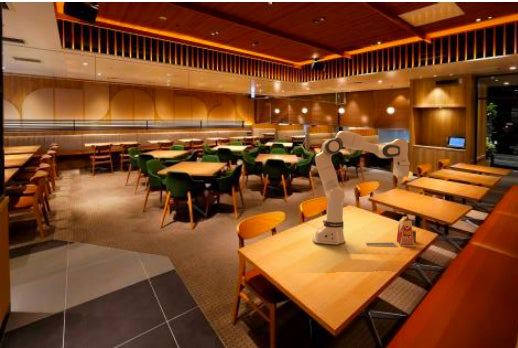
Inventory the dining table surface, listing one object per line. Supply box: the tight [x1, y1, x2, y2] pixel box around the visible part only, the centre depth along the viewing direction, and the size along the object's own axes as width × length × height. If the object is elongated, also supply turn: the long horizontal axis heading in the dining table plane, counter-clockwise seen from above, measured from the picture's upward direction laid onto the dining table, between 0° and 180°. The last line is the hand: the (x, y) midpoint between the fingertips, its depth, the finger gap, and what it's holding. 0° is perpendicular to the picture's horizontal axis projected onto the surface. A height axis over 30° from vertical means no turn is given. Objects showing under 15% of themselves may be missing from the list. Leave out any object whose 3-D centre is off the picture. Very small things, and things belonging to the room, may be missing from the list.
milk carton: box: [396, 215, 416, 248], centre depth 194 cm, size 9×9×20 cm
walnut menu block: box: [412, 229, 417, 243], centre depth 199 cm, size 4×4×8 cm
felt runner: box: [365, 241, 398, 248], centre depth 195 cm, size 19×9×1 cm, turn 82°
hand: (400, 182), depth 197 cm, fingers closed
